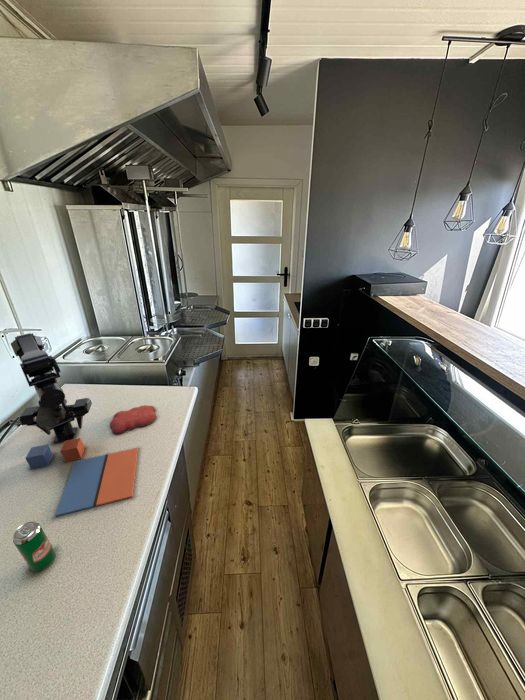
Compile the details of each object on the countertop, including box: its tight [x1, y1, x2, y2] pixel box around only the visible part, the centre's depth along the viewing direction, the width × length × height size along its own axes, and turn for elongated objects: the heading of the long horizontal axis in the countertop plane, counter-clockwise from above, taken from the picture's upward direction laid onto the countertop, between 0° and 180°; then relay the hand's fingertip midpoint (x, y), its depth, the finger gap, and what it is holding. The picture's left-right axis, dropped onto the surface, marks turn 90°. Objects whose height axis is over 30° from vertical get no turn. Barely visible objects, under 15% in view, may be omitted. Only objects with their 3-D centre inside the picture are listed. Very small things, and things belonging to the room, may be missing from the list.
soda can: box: [12, 520, 56, 572], centre depth 67 cm, size 5×5×12 cm
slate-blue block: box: [25, 443, 54, 470], centre depth 96 cm, size 5×5×5 cm
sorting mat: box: [54, 447, 139, 517], centre depth 91 cm, size 20×20×1 cm
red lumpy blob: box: [109, 405, 157, 435], centre depth 116 cm, size 18×14×2 cm
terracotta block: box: [59, 437, 86, 463], centre depth 99 cm, size 5×5×5 cm
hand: (65, 431), depth 95 cm, fingers open, 9 cm apart
